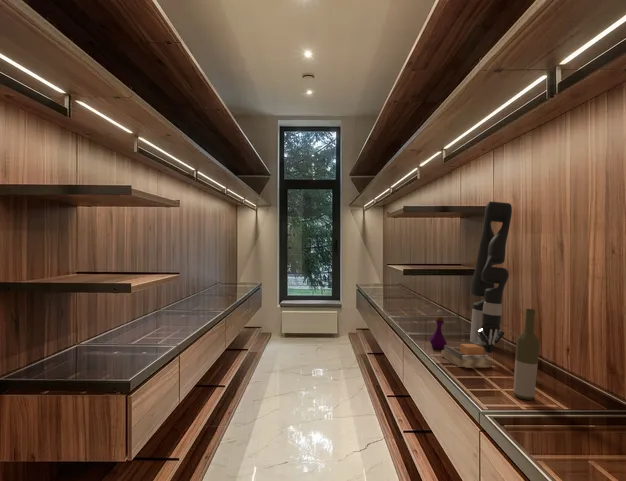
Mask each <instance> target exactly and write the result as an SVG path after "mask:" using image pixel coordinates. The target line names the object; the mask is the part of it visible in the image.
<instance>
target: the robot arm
mask: <svg viewBox="0 0 626 481" xmlns="http://www.w3.org/2000/svg"><path fill="white" fill-rule="evenodd" d="M483 215H484V216H483V224H482V232H481V237H480V241H479V246H478V250H477V257H476V264H475V267H474V268H475V269H474V272H473V276H472V280H471V282H470V283H471V285H470V292H471V295H472V296H475V297H483V299H482V300H480V301H479V300H478V301H477V302H473V304H472V308H471V309H472V312H471V321H470V322H471V324H470V325H471V326H470V335H469V336H470V337H469V342H470V344H475V342H476V343H478V344H481V345H482V346H485V347H484V348H485V349H484V351H486V354H487V353H488V354H492V353H493V351H494V345H495V344H498V343H499V342H500V340H501V339H502V337H503V336H505V331H502V330H501V323H502V311H503V308H502V307H503V306H502V303H503V294H504V293H503V292H504V289H505V286H506V284H507V281H508V279H509V271H508V269H507V268H505V267H498V266H497V265H501V264H502V265H503V264H504V263H505V261H506V260H505V259H506V248H507V240H508V237H509V236H508V235H509V230H510V225H511V219H512V215H513V206H512V204H511V203H509V202H503V201H502V202H499V201H488V202H487V204H486V205H485V209H484V214H483ZM492 222H494V223H502V224H501V227H500V229H499V230H498V231H497V233H496V234H495V233H494V231H493V228H492V224H491V223H492ZM496 266H497V267H496ZM495 284H498V285H497V286H495Z"/></svg>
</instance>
